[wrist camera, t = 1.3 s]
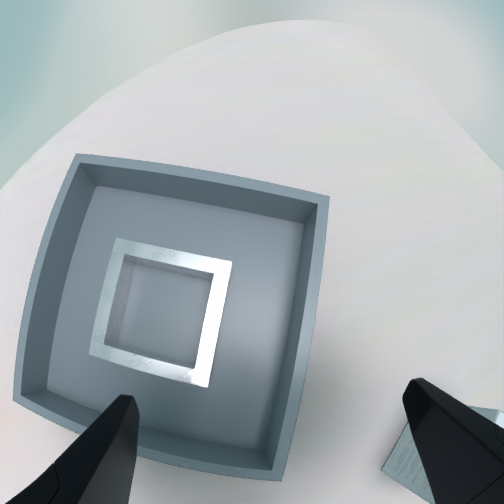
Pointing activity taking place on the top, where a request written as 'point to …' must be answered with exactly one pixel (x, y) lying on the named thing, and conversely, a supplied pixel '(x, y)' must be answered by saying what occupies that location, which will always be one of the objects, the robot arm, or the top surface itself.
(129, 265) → the socket
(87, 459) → the robot arm
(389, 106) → the top surface
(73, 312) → the bin
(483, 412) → the small box
